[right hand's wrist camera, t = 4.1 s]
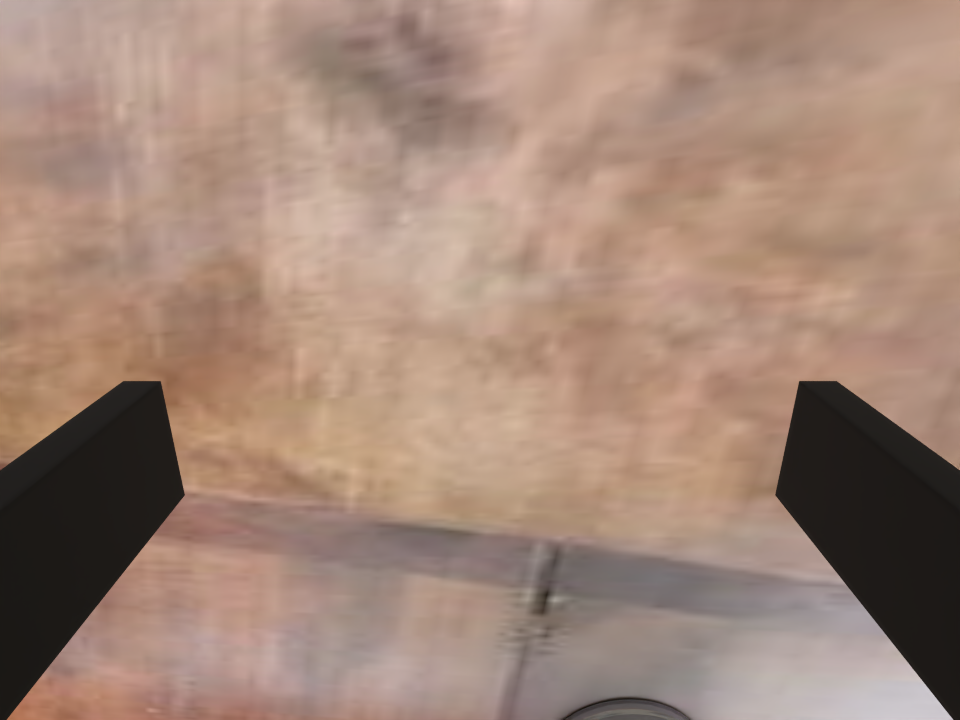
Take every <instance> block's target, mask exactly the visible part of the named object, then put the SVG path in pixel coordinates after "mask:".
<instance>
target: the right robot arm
mask: <svg viewBox="0 0 960 720" xmlns="http://www.w3.org/2000/svg"><path fill="white" fill-rule="evenodd" d="M184 495H185V494H184V490H183V485H182V480H181V475H180V471H179V466H178V461H177V456H176V452H175V447H174V442H173V437H172V433H171V428H170V423H169V418H168V414H167V409H166V404H165V399H164V395H163V390H162V385H161V381H123V382H122V383H120V384H119V385H118V386H116V387H115V388H113V389H112V390H111V391H109V392H108V393H106V394H105V395H104V396H102V397H101V398H100V399H98V400H97V401H95V402H94V403H93V404H91V405H90V406H89V407H87V408H86V409H84V410H83V411H82V412H80V413H79V414H77V415H76V416H75V417H73V418H72V419H71V420H69V421H68V422H66V423H65V424H64V425H62V426H61V427H60V428H58V429H57V430H55V431H54V432H53V433H51V434H50V435H49V436H47V437H46V438H44V439H43V440H42V441H40V442H39V443H37V444H36V445H35V446H33V447H32V448H31V449H29V450H28V451H26V452H25V453H24V454H22V455H21V456H20V457H18V458H17V459H15V460H14V461H13V462H11V463H10V464H8V465H7V466H6V467H4V468H3V469H2V470H0V720H7V718H8V717H9V716H10V715H11V713H12V712H13V711H14V710H15V708H16V707H17V706H18V705H19V703H20V702H21V701H22V700H23V698H24V697H25V696H26V695H27V693H28V692H29V691H30V689H31V688H32V687H33V686H34V684H35V683H36V682H37V681H38V679H39V678H40V677H41V676H42V674H43V673H44V672H45V671H46V669H47V668H48V667H49V666H50V664H51V663H52V662H53V660H54V659H55V658H56V657H57V655H58V654H59V653H60V652H61V650H62V649H63V648H64V647H65V645H66V644H67V643H68V642H69V640H70V639H71V638H72V637H73V635H74V634H75V633H76V631H77V630H78V629H79V628H80V626H81V625H82V624H83V623H84V621H85V620H86V619H87V618H88V616H89V615H90V614H91V613H92V611H93V610H94V609H95V608H96V606H97V605H98V604H99V602H100V601H101V600H102V599H103V597H104V596H105V595H106V594H107V592H108V591H109V590H110V589H111V587H112V586H113V585H114V584H115V582H116V581H117V580H118V579H119V577H120V576H121V575H122V573H123V572H124V571H125V570H126V568H127V567H128V566H129V565H130V563H131V562H132V561H133V560H134V558H135V557H136V556H137V555H138V553H139V552H140V551H141V550H142V548H143V547H144V546H145V545H146V543H147V542H148V541H149V539H150V538H151V537H152V536H153V534H154V533H155V532H156V531H157V529H158V528H159V527H160V526H161V524H162V523H163V522H164V521H165V519H166V518H167V517H168V516H169V514H170V513H171V512H172V510H173V509H174V508H175V507H176V505H177V504H178V503H179V502H180V500H181V499H182V498H183V497H184ZM775 495H776V497H777V498H778V499H779V500H780V502H781V503H782V504H783V505H784V507H785V508H786V509H787V510H788V512H789V513H790V514H791V516H792V517H793V518H794V519H795V521H796V522H797V523H798V524H799V526H800V527H801V528H802V529H803V531H804V532H805V533H806V534H807V536H808V537H809V538H810V539H811V541H812V542H813V543H814V545H815V546H816V547H817V548H818V550H819V551H820V552H821V553H822V555H823V556H824V557H825V558H826V560H827V561H828V562H829V563H830V565H831V566H832V567H833V568H834V570H835V571H836V572H837V573H838V575H839V576H840V577H841V579H842V580H843V581H844V582H845V584H846V585H847V586H848V587H849V589H850V590H851V591H852V592H853V594H854V595H855V596H856V597H857V599H858V600H859V601H860V602H861V604H862V605H863V606H864V608H865V609H866V610H867V611H868V613H869V614H870V615H871V616H872V618H873V619H874V620H875V621H876V623H877V624H878V625H879V626H880V628H881V629H882V630H883V631H884V633H885V634H886V635H887V637H888V638H889V639H890V640H891V642H892V643H893V644H894V645H895V647H896V648H897V649H898V650H899V652H900V653H901V654H902V655H903V657H904V658H905V659H906V660H907V662H908V663H909V664H910V666H911V667H912V668H913V669H914V671H915V672H916V673H917V674H918V676H919V677H920V678H921V679H922V681H923V682H924V683H925V684H926V686H927V687H928V688H929V689H930V691H931V692H932V693H933V695H934V696H935V697H936V698H937V700H938V701H939V702H940V703H941V705H942V706H943V707H944V708H945V710H946V711H947V712H948V713H949V715H950V716H951V717H952V718H953V720H960V470H958V469H957V468H956V467H954V466H953V465H952V464H950V463H949V462H947V461H946V460H945V459H943V458H942V457H940V456H939V455H938V454H936V453H935V452H934V451H932V450H931V449H929V448H928V447H927V446H925V445H924V444H923V443H921V442H920V441H918V440H917V439H916V438H914V437H913V436H911V435H910V434H909V433H907V432H906V431H905V430H903V429H902V428H900V427H899V426H898V425H896V424H895V423H894V422H892V421H891V420H889V419H888V418H887V417H885V416H884V415H883V414H881V413H880V412H878V411H877V410H876V409H874V408H873V407H871V406H870V405H869V404H867V403H866V402H865V401H863V400H862V399H860V398H859V397H858V396H856V395H855V394H854V393H852V392H851V391H849V390H848V389H847V388H845V387H844V386H842V385H841V384H840V383H838V382H837V381H799V385H798V390H797V395H796V399H795V404H794V409H793V414H792V418H791V423H790V428H789V433H788V437H787V442H786V447H785V452H784V456H783V461H782V466H781V471H780V475H779V480H778V485H777V490H776V494H775ZM565 720H690V719H688V718H687V717H686V716H685V715H683V714H682V713H680V712H679V711H677V710H675V709H673V708H671V707H669V706H666V705H663V704H660V703H656V702H651V701H646V700H634V699H626V700H613V701H608V702H603V703H599V704H595V705H592V706H589V707H587V708H584V709H582V710H580V711H578V712H576V713H574V714H572V715H571V716H569V717H568V718H566V719H565Z"/></svg>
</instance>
